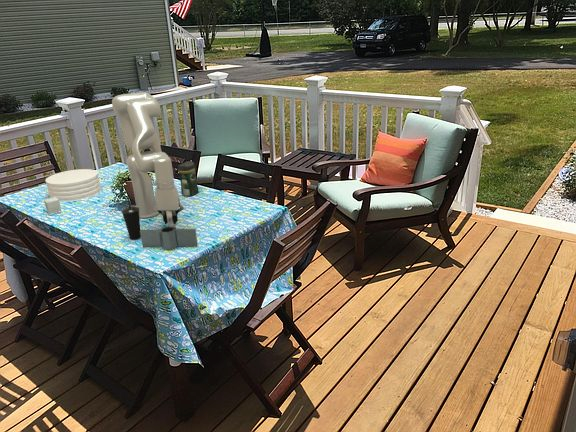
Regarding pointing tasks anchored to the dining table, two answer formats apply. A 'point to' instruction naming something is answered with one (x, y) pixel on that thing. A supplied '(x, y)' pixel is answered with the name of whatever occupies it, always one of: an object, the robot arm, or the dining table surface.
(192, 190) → the coffee jar
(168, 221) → the hinge pin
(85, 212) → the dining table surface
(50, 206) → the product box
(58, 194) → the plate stack
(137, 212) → the drinking cup
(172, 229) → the hinge
